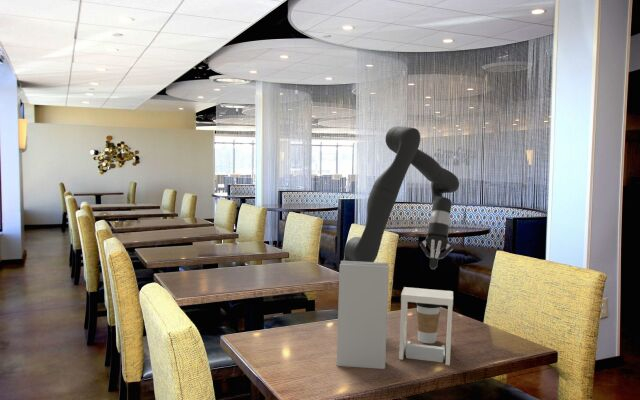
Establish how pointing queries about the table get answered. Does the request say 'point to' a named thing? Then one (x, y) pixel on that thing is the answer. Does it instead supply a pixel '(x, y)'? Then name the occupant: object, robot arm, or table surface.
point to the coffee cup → (427, 322)
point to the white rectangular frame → (410, 349)
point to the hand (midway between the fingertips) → (432, 268)
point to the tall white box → (362, 314)
